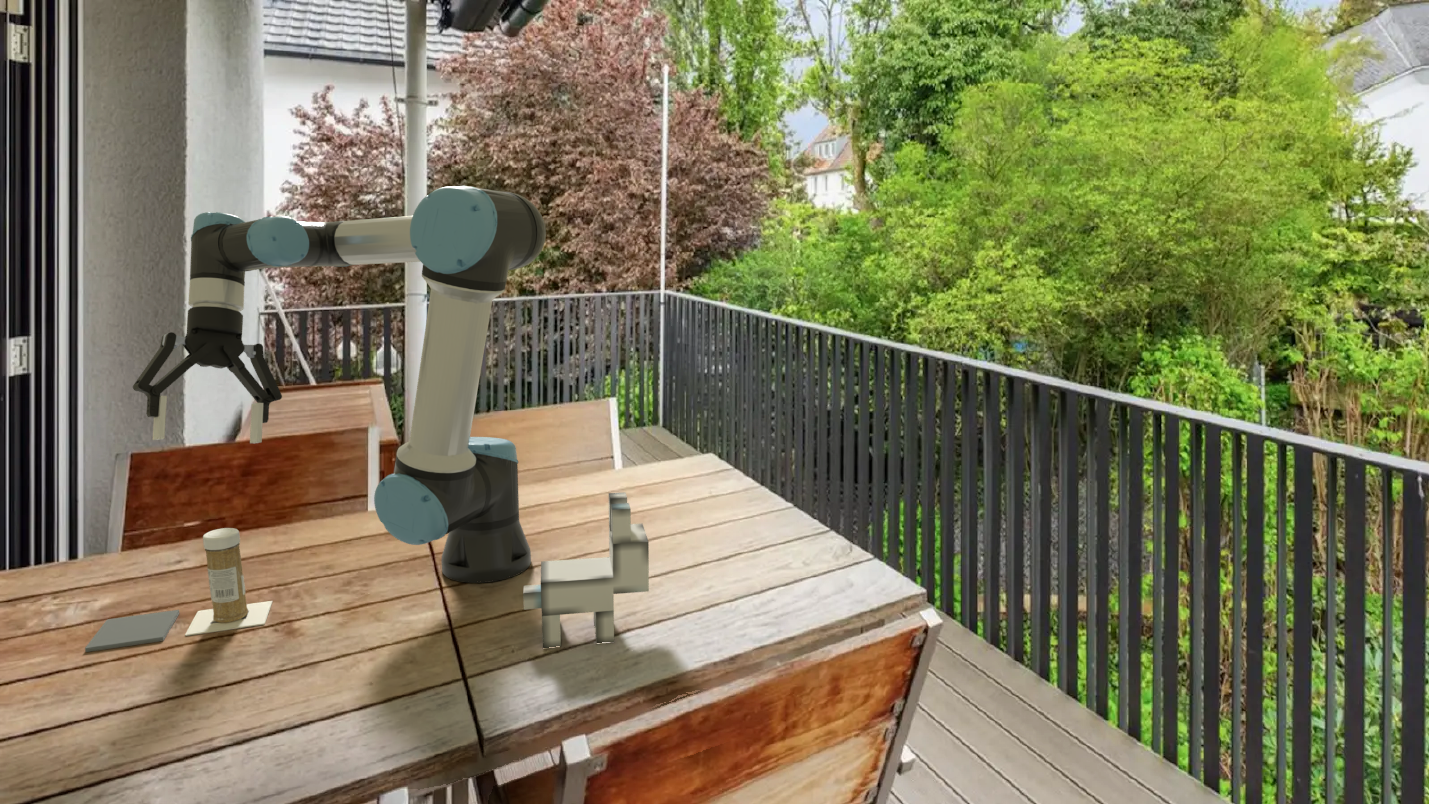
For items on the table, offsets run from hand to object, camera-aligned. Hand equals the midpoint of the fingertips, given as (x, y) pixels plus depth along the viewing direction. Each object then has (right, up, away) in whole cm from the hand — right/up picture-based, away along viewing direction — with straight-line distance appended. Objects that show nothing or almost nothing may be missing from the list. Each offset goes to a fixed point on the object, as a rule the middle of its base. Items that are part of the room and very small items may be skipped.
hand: (209, 441), depth 122 cm
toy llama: (+61, -28, -9) cm, 68 cm away
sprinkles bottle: (+7, -26, -6) cm, 28 cm away
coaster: (-4, -27, -10) cm, 29 cm away
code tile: (+7, -26, -6) cm, 28 cm away
